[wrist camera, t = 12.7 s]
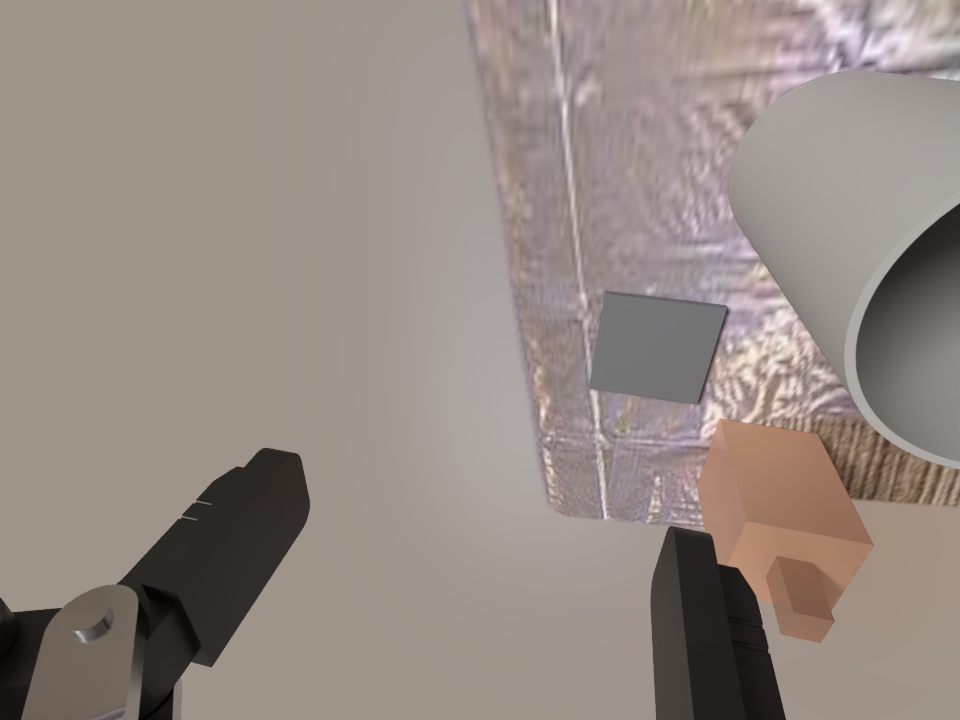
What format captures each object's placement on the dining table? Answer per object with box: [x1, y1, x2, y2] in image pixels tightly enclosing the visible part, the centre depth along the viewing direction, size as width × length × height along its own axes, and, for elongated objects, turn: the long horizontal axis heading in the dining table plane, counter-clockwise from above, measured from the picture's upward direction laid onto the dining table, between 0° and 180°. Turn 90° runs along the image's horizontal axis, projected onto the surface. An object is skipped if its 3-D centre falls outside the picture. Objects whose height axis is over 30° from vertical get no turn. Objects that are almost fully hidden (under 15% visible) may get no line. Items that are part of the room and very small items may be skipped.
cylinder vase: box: [728, 71, 960, 469], centre depth 27 cm, size 12×12×25 cm
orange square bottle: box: [697, 419, 873, 643], centre depth 44 cm, size 9×9×18 cm
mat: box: [589, 291, 727, 405], centre depth 47 cm, size 10×10×1 cm
